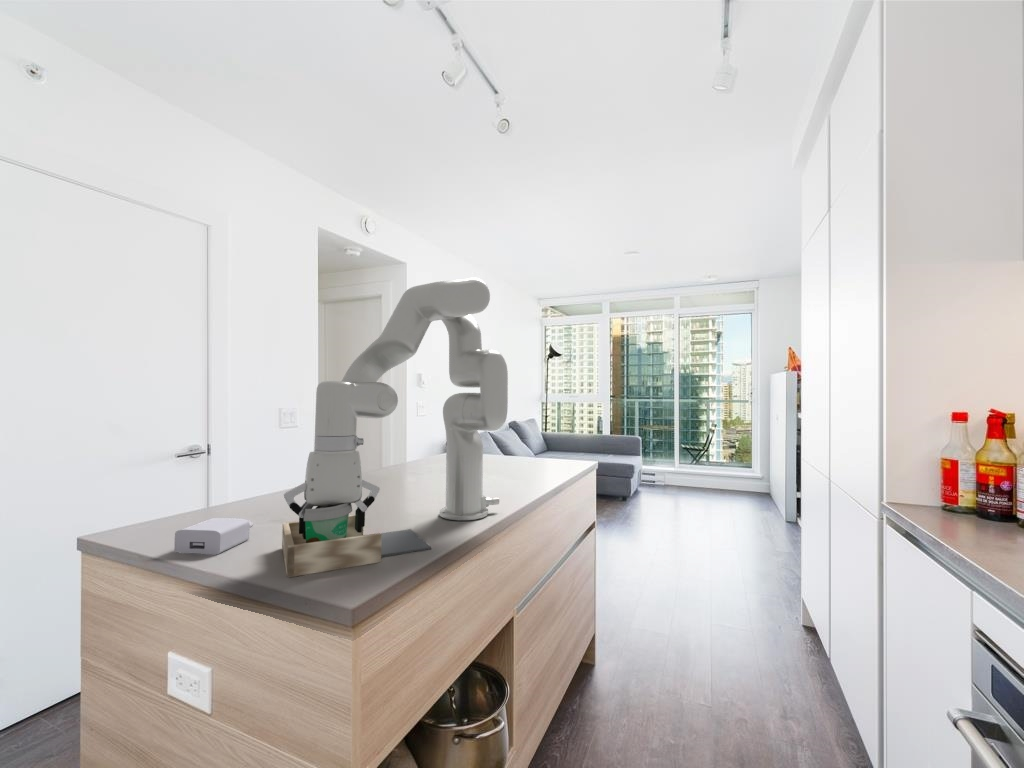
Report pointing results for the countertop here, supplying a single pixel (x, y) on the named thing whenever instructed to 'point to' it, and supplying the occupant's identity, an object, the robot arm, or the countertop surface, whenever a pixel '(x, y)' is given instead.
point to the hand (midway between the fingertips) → (332, 534)
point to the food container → (327, 522)
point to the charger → (212, 535)
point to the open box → (328, 550)
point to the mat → (401, 542)
